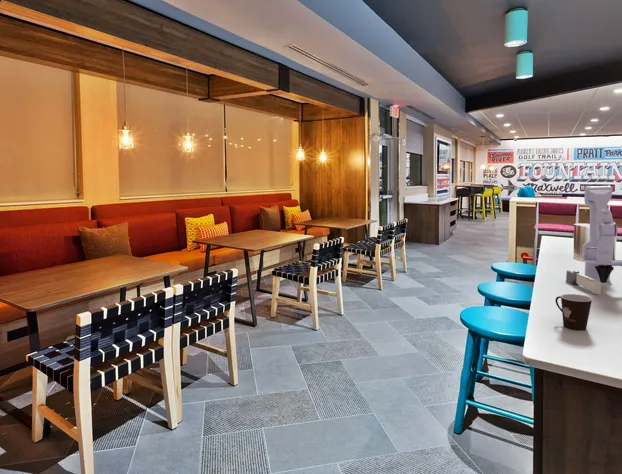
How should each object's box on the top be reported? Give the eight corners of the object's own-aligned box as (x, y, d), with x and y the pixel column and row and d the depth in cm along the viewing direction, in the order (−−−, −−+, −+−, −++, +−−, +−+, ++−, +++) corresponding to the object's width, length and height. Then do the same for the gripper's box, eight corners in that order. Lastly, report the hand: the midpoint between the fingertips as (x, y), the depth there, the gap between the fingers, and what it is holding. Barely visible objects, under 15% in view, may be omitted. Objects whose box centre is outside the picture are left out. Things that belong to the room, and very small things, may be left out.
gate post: (564, 280, 196) (565, 268, 195) (570, 280, 196) (570, 268, 195) (574, 285, 188) (574, 272, 187) (579, 285, 187) (580, 272, 187)
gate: (575, 284, 187) (576, 273, 186) (579, 284, 187) (580, 273, 186) (596, 293, 171) (597, 282, 170) (600, 293, 171) (601, 282, 170)
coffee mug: (595, 332, 132) (597, 301, 130) (565, 331, 134) (566, 301, 132) (579, 320, 143) (581, 292, 142) (552, 319, 145) (553, 291, 143)
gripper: (592, 253, 173) (590, 284, 175) (629, 252, 171) (627, 284, 173) (583, 250, 180) (581, 280, 181) (618, 249, 178) (616, 280, 180)
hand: (603, 282), depth 178 cm, fingers closed
